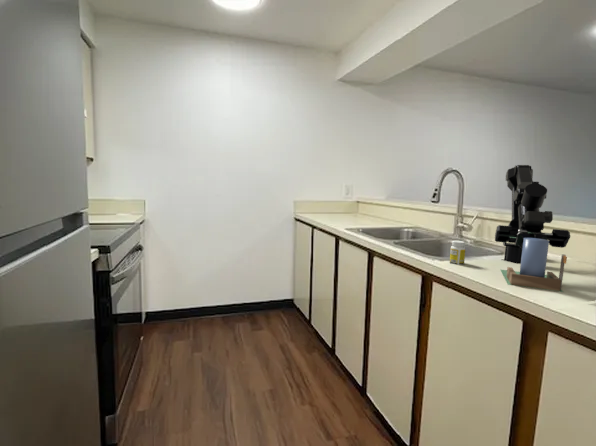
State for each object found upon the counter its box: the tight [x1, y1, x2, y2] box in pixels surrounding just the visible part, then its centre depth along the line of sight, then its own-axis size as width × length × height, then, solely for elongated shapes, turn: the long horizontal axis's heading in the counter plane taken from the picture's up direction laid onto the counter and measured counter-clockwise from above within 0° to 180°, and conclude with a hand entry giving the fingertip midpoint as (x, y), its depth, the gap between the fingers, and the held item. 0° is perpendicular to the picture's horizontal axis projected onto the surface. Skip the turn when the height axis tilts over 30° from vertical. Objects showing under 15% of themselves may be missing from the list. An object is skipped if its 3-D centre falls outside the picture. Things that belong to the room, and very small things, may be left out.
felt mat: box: [500, 269, 564, 293], centre depth 104 cm, size 19×13×1 cm
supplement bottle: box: [449, 240, 466, 266], centre depth 123 cm, size 5×5×8 cm
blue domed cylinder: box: [519, 238, 550, 277], centre depth 99 cm, size 6×6×13 cm
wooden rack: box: [506, 254, 568, 292], centre depth 99 cm, size 12×12×10 cm
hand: (532, 258), depth 102 cm, fingers closed
